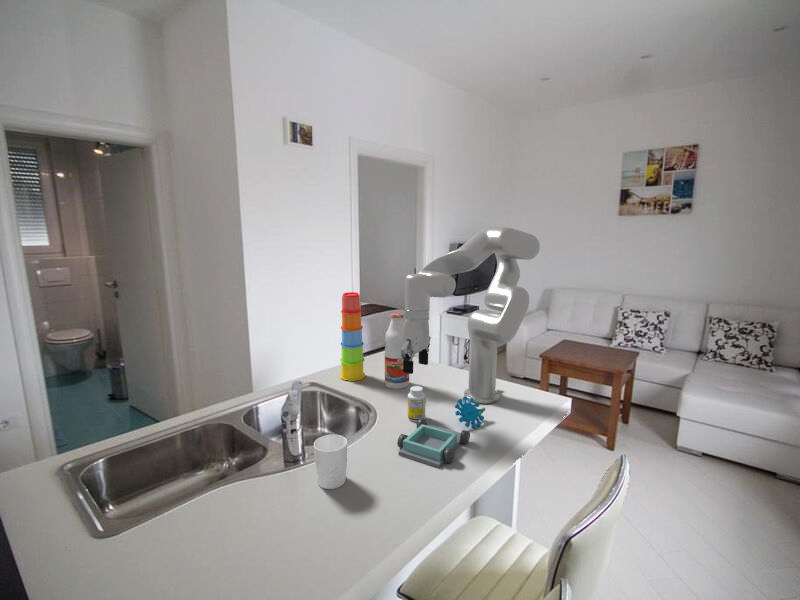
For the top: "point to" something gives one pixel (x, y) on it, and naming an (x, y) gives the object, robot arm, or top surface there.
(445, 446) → the chassis
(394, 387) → the fruit juice
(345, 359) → the stacking cups
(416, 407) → the supplement bottle
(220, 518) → the top surface
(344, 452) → the white cup
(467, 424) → the gear
